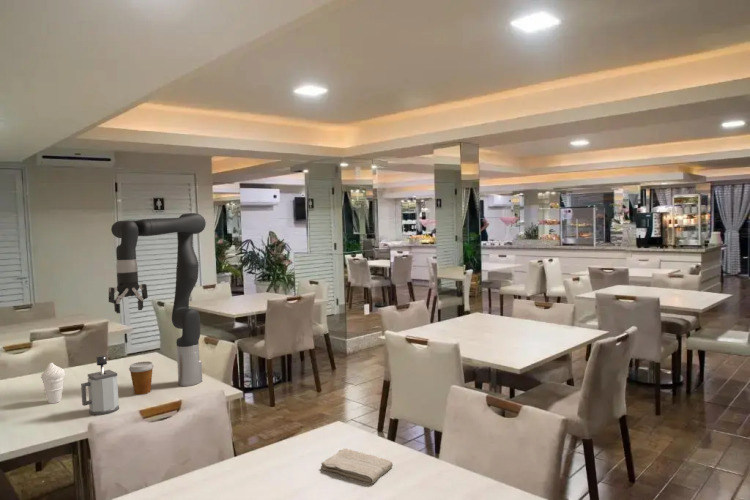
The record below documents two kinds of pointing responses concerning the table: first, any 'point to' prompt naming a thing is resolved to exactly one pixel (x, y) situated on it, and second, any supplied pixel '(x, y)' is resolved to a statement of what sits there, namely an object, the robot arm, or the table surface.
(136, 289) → the robot arm
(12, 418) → the table surface
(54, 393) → the soft serve ice cream cone
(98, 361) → the plunger
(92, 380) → the carafe
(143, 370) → the disposable coffee cup
